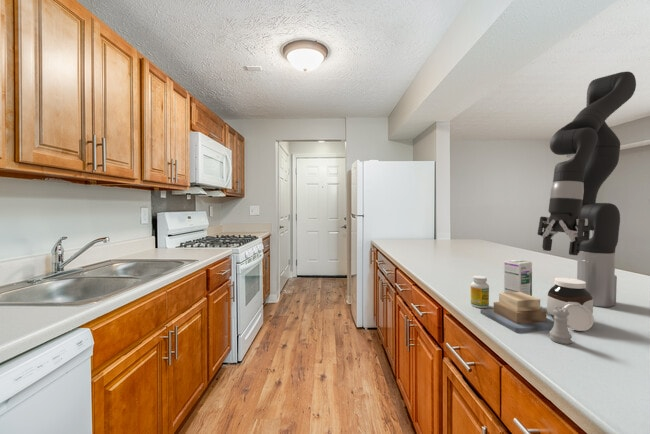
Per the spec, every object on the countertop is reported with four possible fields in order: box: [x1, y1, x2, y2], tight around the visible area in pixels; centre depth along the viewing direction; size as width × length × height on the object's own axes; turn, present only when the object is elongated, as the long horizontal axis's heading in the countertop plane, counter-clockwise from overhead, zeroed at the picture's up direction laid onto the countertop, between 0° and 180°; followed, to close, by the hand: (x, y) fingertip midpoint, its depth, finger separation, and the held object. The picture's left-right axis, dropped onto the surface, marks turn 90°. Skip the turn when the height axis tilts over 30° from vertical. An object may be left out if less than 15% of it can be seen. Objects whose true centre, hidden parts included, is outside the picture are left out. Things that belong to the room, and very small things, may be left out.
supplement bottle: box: [470, 275, 490, 309], centre depth 98 cm, size 5×5×10 cm
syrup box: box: [503, 259, 533, 296], centre depth 99 cm, size 6×6×14 cm
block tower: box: [480, 292, 554, 333], centre depth 86 cm, size 14×14×7 cm
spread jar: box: [546, 277, 595, 332], centre depth 83 cm, size 12×11×12 cm
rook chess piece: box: [548, 307, 573, 345], centre depth 73 cm, size 4×4×8 cm
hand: (559, 252), depth 88 cm, fingers open, 8 cm apart
